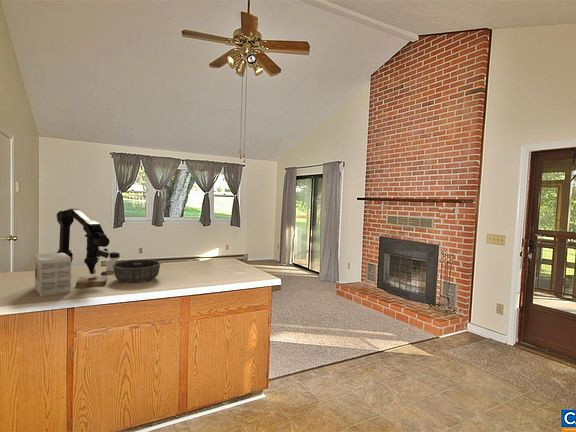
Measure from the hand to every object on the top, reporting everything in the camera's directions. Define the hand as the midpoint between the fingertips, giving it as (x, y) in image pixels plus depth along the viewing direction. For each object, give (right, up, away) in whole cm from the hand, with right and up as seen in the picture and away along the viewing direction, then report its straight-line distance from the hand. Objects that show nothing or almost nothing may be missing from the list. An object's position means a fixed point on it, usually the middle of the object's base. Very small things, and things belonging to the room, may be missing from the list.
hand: (92, 272), depth 190 cm
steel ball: (0, +1, 0) cm, 1 cm away
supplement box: (-11, -7, -16) cm, 21 cm away
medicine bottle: (-5, -4, +33) cm, 34 cm away
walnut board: (0, -6, 0) cm, 6 cm away
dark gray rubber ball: (-2, -3, +15) cm, 15 cm away
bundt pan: (+20, -7, +12) cm, 24 cm away
